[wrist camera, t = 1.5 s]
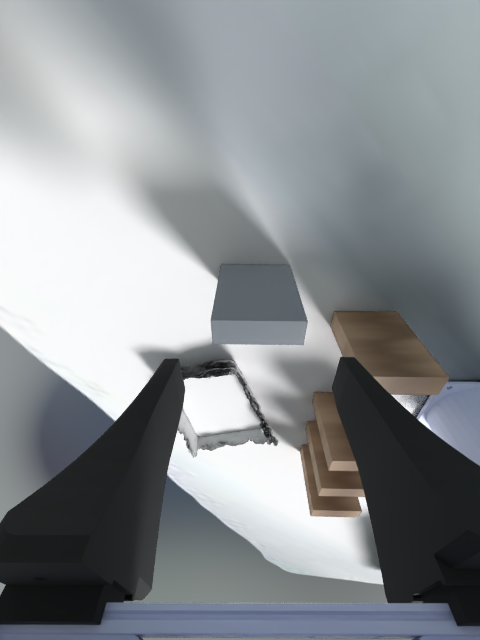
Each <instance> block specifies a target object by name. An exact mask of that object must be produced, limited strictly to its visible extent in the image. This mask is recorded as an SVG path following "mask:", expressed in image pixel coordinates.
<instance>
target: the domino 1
mask: <svg viewBox="0 0 480 640" xmlns="http://www.w3.org/2000/svg"><path fill="white" fill-rule="evenodd" d="M307 322H308V321H307V318H306V314H305V311H304V308H303V305H302V302H301V298H300V295H299V292H298V289H297V285H296V282H295V279H294V276H293V273H292V269H291V266H290V265H267V264H221V268H220V273H219V279H218V284H217V289H216V295H215V300H214V305H213V311H212V316H211V330H212V343H213V344H261V345H304V339H305V334H306V328H307Z"/></svg>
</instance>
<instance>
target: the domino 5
mask: <svg viewBox="0 0 480 640" xmlns="http://www.w3.org/2000/svg"><path fill="white" fill-rule="evenodd" d="M331 329H332V332H333V334H334V336H335V339H336V341H337V344H338V346H339V349H340V351H341V353H342V356H343V357H355V358H356V359H357V360H358V361H359V362H360V363H361V364H362V366H363V367H364V368H365V369H366V370H367V371H368V372H369V373H370V374H371V375H372V376H373V377H374V378H375V379H376V380H377V381H378V382H379V383H380V384H381V385H382V387H383V388H384V389H385V390H386V391H388V392H389V393H390V394H401V395H439V393H440V392H441V390H442V388H443V387H444V385H445V384H446V382H447V381H448V379H449V376H448V375H447V374H446V373H445V371H444V370H443V369H442V368H441V366H440V365H439V364H438V363H437V361H436V360H435V359H434V358H433V356H432V355H431V354H430V353H429V351H428V350H427V349H426V348H425V346H424V345H423V344H422V343H421V341H420V340H419V339H418V338H417V336H416V335H415V334H414V333H413V331H412V330H411V329H410V328H409V326H408V325H407V324H406V323H405V321H404V320H403V319H402V318H401V316H400V315H399V314H398V313H397V312H376V311H334V315H333V319H332V323H331Z"/></svg>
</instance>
